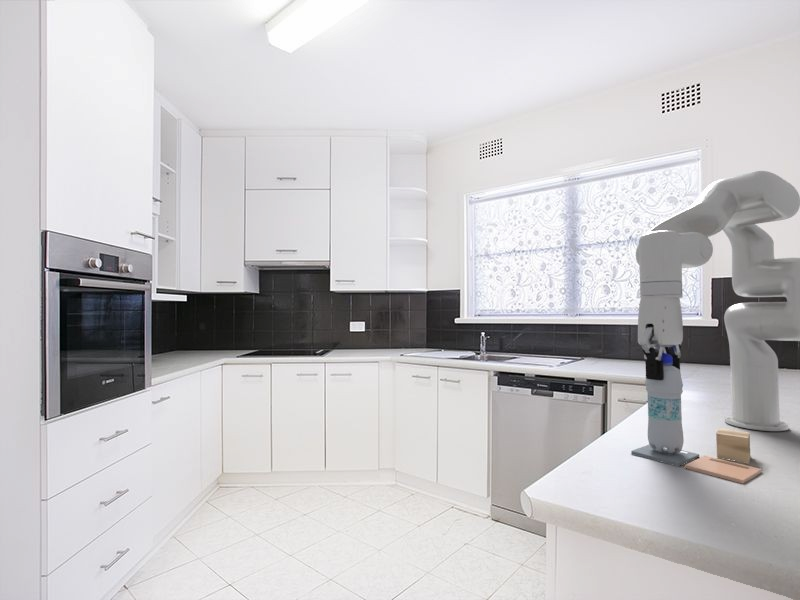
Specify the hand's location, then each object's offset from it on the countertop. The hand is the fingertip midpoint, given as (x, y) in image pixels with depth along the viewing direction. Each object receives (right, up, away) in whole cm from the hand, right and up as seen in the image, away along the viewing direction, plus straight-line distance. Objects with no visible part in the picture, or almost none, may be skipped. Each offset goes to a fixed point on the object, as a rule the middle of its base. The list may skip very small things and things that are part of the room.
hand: (663, 377), depth 88 cm
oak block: (+13, -16, -2) cm, 21 cm away
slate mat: (0, -16, -1) cm, 16 cm away
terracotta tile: (+6, -16, -9) cm, 19 cm away
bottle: (0, -15, 0) cm, 15 cm away
